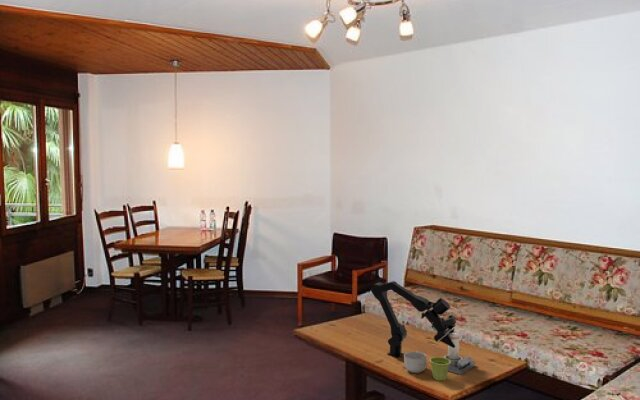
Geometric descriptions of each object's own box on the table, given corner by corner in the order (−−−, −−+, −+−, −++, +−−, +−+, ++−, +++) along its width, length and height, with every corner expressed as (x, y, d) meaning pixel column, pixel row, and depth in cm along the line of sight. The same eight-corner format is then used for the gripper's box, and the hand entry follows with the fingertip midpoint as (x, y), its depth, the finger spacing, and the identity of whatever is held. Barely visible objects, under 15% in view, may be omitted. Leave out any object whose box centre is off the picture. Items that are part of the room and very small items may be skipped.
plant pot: (452, 377, 256) (453, 359, 255) (445, 384, 248) (446, 365, 248) (433, 373, 261) (434, 355, 260) (426, 379, 253) (427, 361, 253)
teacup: (421, 376, 256) (421, 360, 256) (399, 371, 262) (400, 355, 262) (431, 367, 268) (432, 351, 268) (411, 363, 274) (411, 347, 273)
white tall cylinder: (452, 360, 267) (453, 336, 266) (445, 357, 272) (446, 333, 271) (460, 359, 270) (461, 335, 269) (453, 355, 274) (454, 332, 273)
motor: (460, 374, 260) (460, 364, 259) (436, 367, 268) (436, 357, 268) (475, 365, 272) (475, 355, 271) (451, 359, 280) (451, 349, 280)
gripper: (441, 315, 263) (463, 341, 258) (452, 306, 279) (473, 331, 274) (424, 328, 267) (446, 354, 263) (436, 319, 284) (457, 344, 279)
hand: (456, 345), depth 270 cm, fingers closed on white tall cylinder, 5 cm apart
